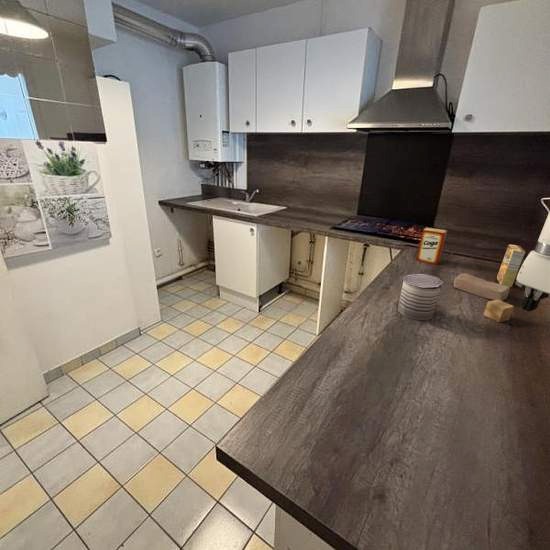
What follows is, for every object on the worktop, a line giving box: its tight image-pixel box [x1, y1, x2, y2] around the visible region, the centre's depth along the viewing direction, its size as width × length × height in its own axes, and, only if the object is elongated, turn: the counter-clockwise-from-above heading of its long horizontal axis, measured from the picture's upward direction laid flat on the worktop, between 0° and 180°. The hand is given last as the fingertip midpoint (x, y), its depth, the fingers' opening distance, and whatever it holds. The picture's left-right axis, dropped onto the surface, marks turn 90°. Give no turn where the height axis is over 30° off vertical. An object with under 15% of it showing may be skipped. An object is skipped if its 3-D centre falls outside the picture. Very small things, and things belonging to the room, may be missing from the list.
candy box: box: [496, 244, 526, 288], centre depth 119 cm, size 9×4×15 cm, turn 153°
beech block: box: [483, 300, 515, 323], centre depth 94 cm, size 5×5×5 cm
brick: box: [453, 272, 511, 302], centre depth 112 cm, size 17×8×5 cm, turn 39°
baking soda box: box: [415, 227, 448, 266], centre depth 142 cm, size 10×6×16 cm
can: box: [397, 273, 445, 321], centre depth 95 cm, size 11×11×12 cm
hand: (528, 309), depth 86 cm, fingers closed
